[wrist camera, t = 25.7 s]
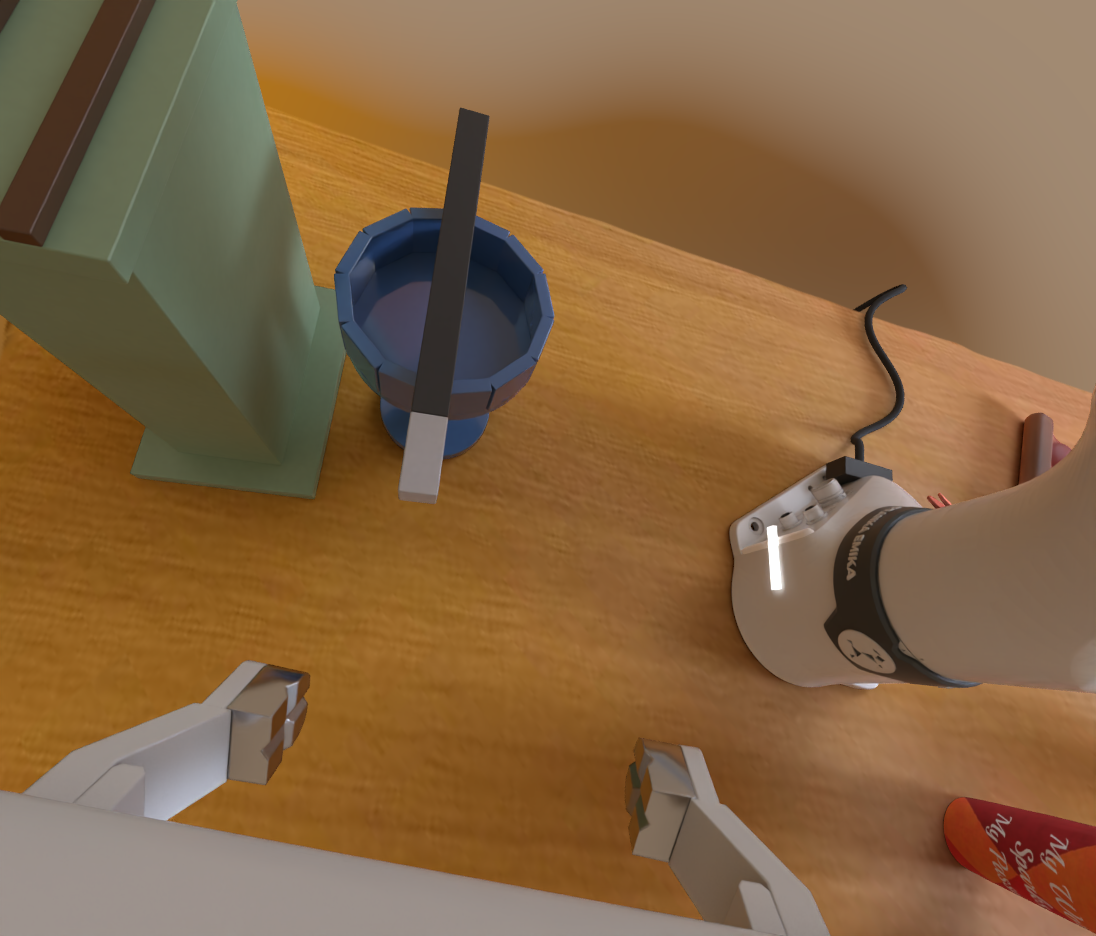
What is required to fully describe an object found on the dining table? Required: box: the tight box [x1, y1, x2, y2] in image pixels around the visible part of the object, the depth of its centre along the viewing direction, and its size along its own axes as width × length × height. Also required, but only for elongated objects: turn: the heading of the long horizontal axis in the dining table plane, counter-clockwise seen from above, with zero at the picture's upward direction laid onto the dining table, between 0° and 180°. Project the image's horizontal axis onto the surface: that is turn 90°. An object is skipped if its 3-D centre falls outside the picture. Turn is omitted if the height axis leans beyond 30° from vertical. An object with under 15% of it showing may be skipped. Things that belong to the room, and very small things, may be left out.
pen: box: [398, 108, 489, 504], centre depth 28 cm, size 24×2×2 cm, turn 176°
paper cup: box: [944, 797, 1096, 933], centre depth 39 cm, size 8×8×14 cm
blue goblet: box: [334, 208, 554, 459], centre depth 37 cm, size 12×12×16 cm
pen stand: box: [0, 0, 346, 499], centre depth 29 cm, size 18×12×27 cm, turn 176°
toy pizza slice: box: [1019, 413, 1071, 485], centre depth 59 cm, size 18×2×20 cm
